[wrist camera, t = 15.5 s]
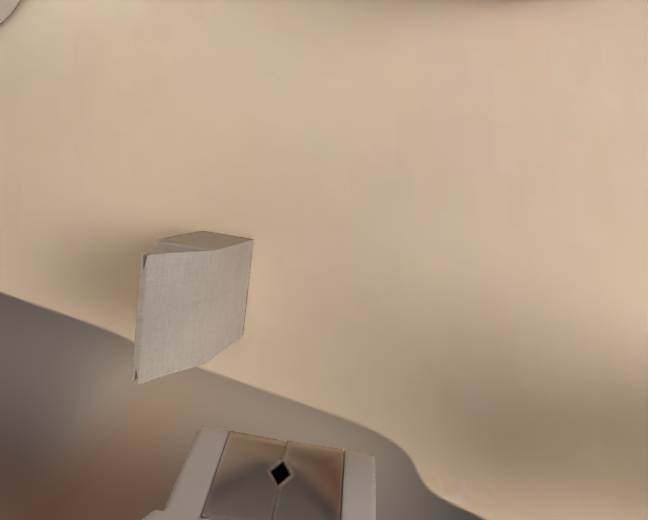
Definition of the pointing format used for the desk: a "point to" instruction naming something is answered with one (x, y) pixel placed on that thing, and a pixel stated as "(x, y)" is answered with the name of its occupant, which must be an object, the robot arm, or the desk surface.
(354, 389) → the desk surface
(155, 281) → the tea bag
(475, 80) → the desk surface
